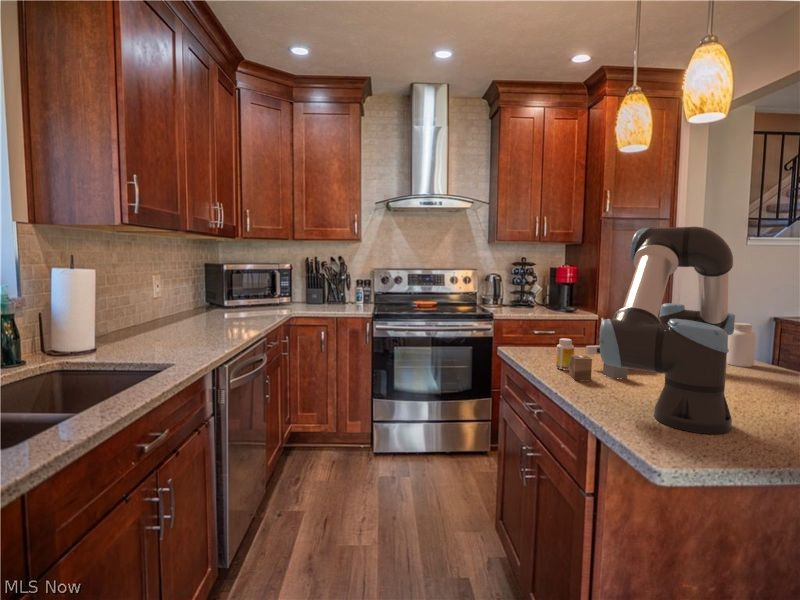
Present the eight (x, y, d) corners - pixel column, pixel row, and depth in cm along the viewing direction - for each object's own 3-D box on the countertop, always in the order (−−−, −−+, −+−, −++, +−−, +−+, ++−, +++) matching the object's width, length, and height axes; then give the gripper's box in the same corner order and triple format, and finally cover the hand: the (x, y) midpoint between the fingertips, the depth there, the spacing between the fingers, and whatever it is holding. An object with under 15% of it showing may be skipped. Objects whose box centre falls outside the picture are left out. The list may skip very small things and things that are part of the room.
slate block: (627, 379, 144) (628, 356, 144) (613, 379, 143) (614, 357, 143) (616, 375, 149) (617, 353, 148) (602, 375, 148) (604, 353, 147)
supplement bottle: (576, 369, 156) (577, 339, 155) (567, 371, 153) (568, 341, 152) (561, 366, 160) (563, 337, 159) (552, 368, 157) (553, 338, 156)
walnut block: (590, 381, 141) (592, 358, 140) (574, 380, 141) (575, 358, 141) (585, 377, 146) (586, 354, 145) (569, 376, 146) (570, 354, 146)
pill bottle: (731, 366, 163) (734, 324, 161) (722, 361, 170) (725, 321, 169) (757, 368, 160) (761, 325, 159) (747, 363, 168) (751, 322, 167)
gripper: (659, 362, 157) (598, 365, 152) (632, 354, 169) (575, 356, 164) (660, 340, 156) (599, 342, 151) (633, 334, 169) (576, 336, 164)
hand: (587, 350), depth 158 cm, fingers closed
